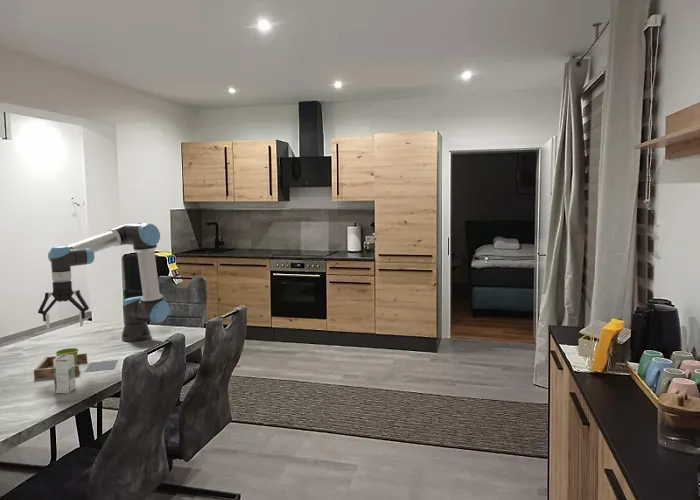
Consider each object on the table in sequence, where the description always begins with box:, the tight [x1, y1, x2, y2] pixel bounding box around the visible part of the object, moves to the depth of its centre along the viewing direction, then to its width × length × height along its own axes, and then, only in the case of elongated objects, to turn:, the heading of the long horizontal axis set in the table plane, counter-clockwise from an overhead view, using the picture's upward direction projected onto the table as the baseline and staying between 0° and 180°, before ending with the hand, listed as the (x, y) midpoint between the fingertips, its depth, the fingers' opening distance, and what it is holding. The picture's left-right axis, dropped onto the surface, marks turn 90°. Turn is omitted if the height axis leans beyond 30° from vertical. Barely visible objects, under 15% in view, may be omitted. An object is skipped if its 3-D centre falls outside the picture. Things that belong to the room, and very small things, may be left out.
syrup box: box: [52, 354, 76, 395], centre depth 210 cm, size 6×6×14 cm
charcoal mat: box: [84, 359, 118, 373], centre depth 243 cm, size 12×14×1 cm
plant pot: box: [54, 347, 80, 366], centre depth 238 cm, size 9×9×9 cm
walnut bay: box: [33, 353, 88, 380], centre depth 238 cm, size 17×20×4 cm
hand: (65, 327), depth 237 cm, fingers open, 13 cm apart
